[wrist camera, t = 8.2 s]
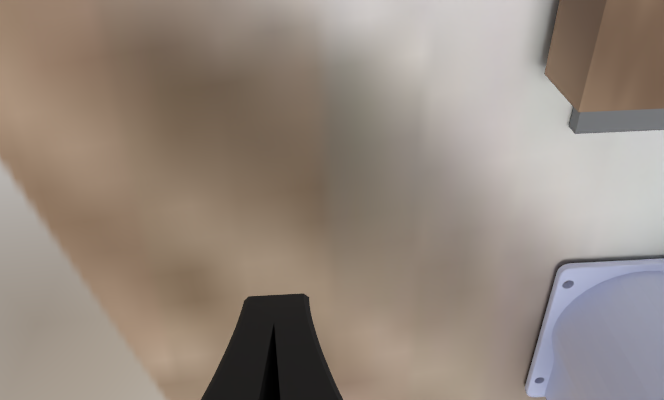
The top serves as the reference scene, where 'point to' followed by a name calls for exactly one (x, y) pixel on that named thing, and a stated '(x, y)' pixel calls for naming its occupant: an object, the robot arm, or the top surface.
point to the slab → (608, 54)
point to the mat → (617, 121)
